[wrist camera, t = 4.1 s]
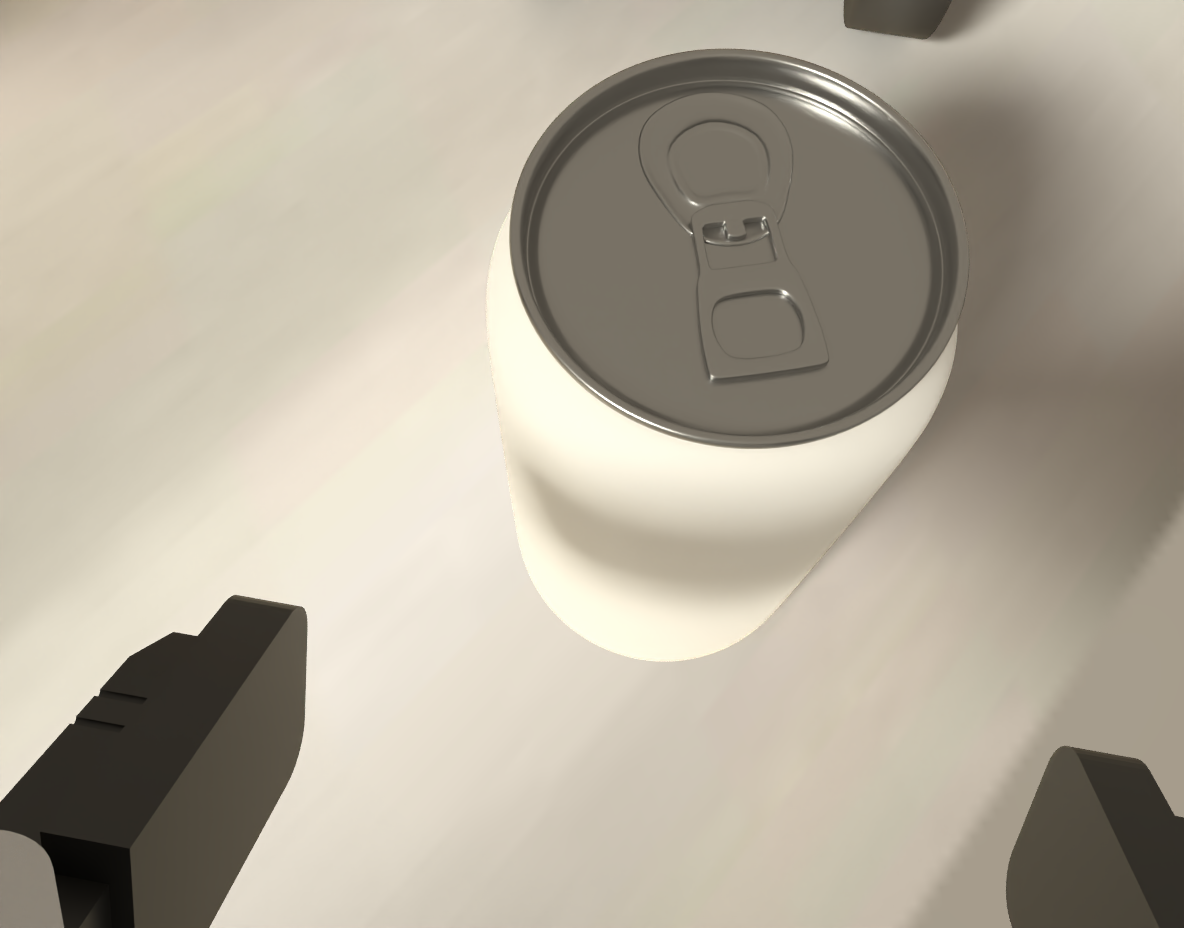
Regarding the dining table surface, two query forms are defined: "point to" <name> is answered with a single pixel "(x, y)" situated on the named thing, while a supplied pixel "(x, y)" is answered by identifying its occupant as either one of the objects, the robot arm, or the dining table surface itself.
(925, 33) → the trolley
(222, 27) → the dining table surface
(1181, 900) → the robot arm
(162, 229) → the dining table surface
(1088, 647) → the dining table surface
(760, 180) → the can
